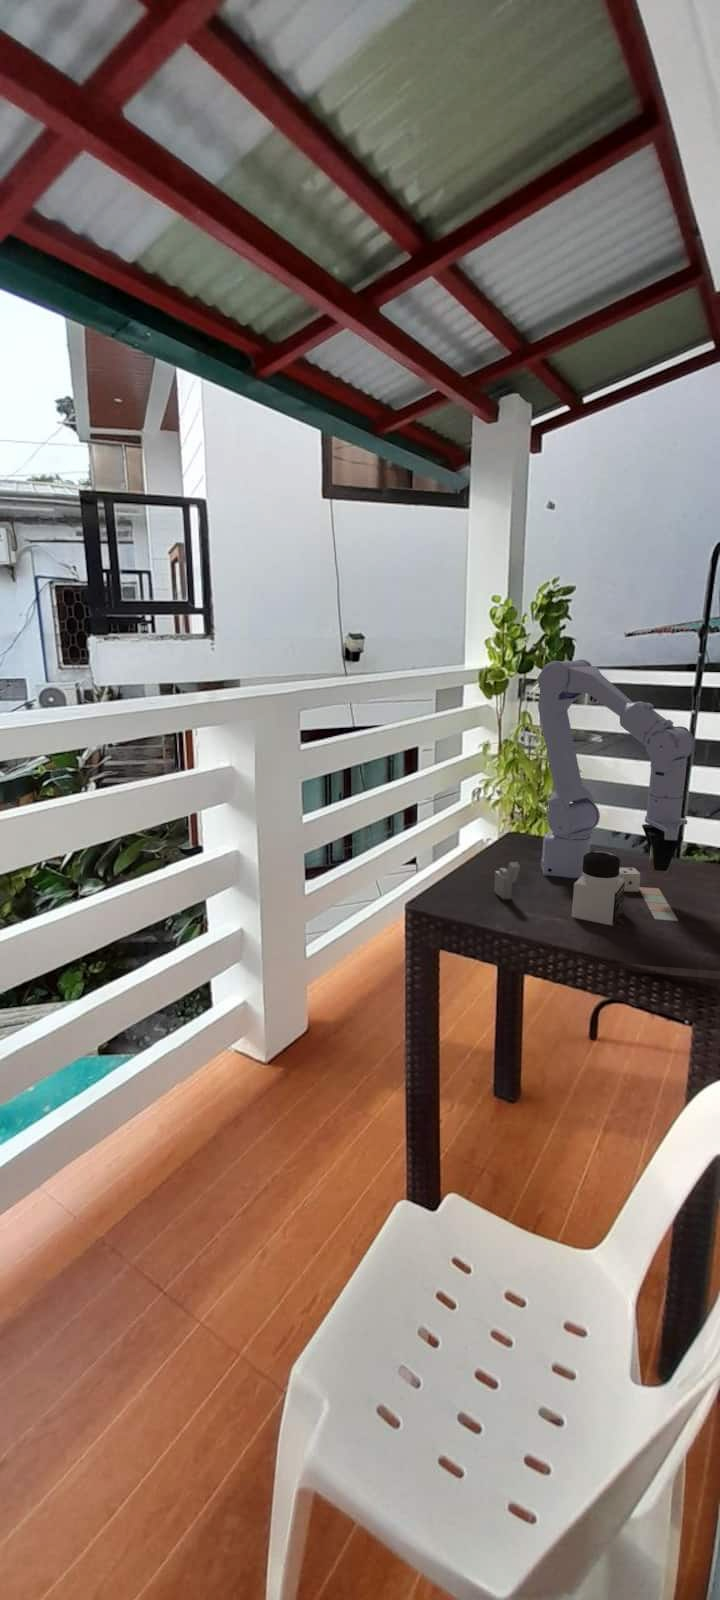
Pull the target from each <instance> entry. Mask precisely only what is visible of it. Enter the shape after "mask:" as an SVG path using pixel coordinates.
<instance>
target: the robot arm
mask: <svg viewBox="0 0 720 1600" xmlns="http://www.w3.org/2000/svg"><path fill="white" fill-rule="evenodd" d="M537 683H538V688H539V695H538V704H537V708H538V713H539V719H540V724H541V729H542V734H543V739H544V744H545V748H546V749H545V750H546V753H547V758H548V764H549V769H550V775H551V778H552V783H553V789H554V790H553V791H554V792H553V793H552V794H551V796H550V798H549V799H548V801H547V806H548V813H547V824H548V827H549V829H550V830H551V832H549V833H547V832H545V833H544V834H543V840H542V856H541V859H540V868H541V869H542V876H551V877H552V876H553V877H563V878H568V879H569V878H571V879H579V878H580V877H581V876H582V870H583V857H584V855H585V854H587V853H590V851H591V850H590V849H591V838H592V834H593V829H594V828H596V827H597V826H598V824H599V823H600V819H601V817H600V816H601V814H600V811H599V808H598V806H597V804H596V803H595V801H594V799H593V794H592V793H591V791H590V790H588V789H587V788H586V787H585V786H583V782H582V777H581V773H580V768H579V767H580V766H579V764H578V763H579V762H578V758H577V753H576V749H575V747H576V746H575V743H574V737H573V734H572V733H573V732H572V727H571V723H570V719H569V713H568V710H569V708H570V707H571V706H572V704H573V702H574V701H575V700H577V699H578V698H579V697H580V696H581V695H583V694H588V695H589V696H591V698H593V699H595V700H596V701H597V702H599V703H600V704H602V705H604V706H605V707H606V708H608V709H609V710H610V711H611V712H613V713H614V714H615V715H617V716H618V717H619V725H620V726H621V727H622V729H624V730H625V731H626V732H628V733H629V734H630V735H632V736H633V738H635V739H636V741H637V740H638V742H640V743H641V744H642V745H643V746H645V751H646V754H647V755H648V757H649V759H650V773H649V774H650V776H649V785H648V794H647V795H648V796H647V806H646V815H645V817H644V822H645V823H646V824H645V823H643V824H642V825H641V827H642V830H643V832H644V835H645V838H646V843H647V851H648V858H649V857H650V846H651V845H652V850H653V865H654V869H655V870H656V871H667V870H668V871H669V869H668V867H670V864H671V862H672V859H673V856H674V855H675V852H676V850H677V849H678V847H679V845H681V843H682V841H683V839H684V837H683V836H682V835H681V834H679V829H680V827H681V825H688V820H687V819H686V818H684V817H682V811H683V810H682V808H683V807H682V806H683V801H684V800H683V799H684V793H685V792H684V791H685V780H686V772H687V763H688V762H687V761H688V757H689V756H691V754H692V753H693V752H694V749H695V747H696V742H695V737H694V735H693V734H692V732H691V731H689V729H688V727H685V726H681V725H680V726H675V725H674V721H672V720H671V719H667V718H664V717H663V716H662V715H660V714H659V713H658V712H657V711H655V710H654V709H653V708H654V707H655V706H654V704H652V703H650V702H644V701H635V702H633V701H632V700H631V699H630V698H629V697H627V696H626V695H625V694H624V693H623V692H622V691H621V690H620V689H618V687H617V686H615V685H614V684H613V683H612V682H611V681H610V680H609V679H607V678H606V677H605V675H603V674H602V673H601V671H600V669H599V667H596V666H594V665H592V663H591V662H589V661H587V660H585V659H577V660H566V661H564V660H563V661H560V660H559V661H558V660H552V661H549V662H548V663H546V664H545V665H544V667H543V668H542V670H541V671H540V673H539V674H538V677H537ZM549 869H550V870H549Z"/></svg>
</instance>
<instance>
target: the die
mask: <svg viewBox="0 0 720 1600" xmlns="http://www.w3.org/2000/svg"><path fill="white" fill-rule="evenodd" d="M619 878H621V879H624V880H625V885H624V892H637V893H639V892H640V890H639V887H640V884H641V873H640V872H639V871H638V870H637V869H636V868H635V867H620V868H619Z"/></svg>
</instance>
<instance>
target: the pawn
mask: <svg viewBox="0 0 720 1600" xmlns="http://www.w3.org/2000/svg"><path fill="white" fill-rule="evenodd" d="M669 867H670V866H669ZM669 867H668V870H667V871H656V870H655V869H654V865H653V850H652V845H651V846H650V857H649V856H648V869H647V870H648V871H649V872H651V873H653V874H660V875H661V874H662V875H663V874H668V873H669V870H670V869H669Z"/></svg>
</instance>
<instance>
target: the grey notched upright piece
mask: <svg viewBox="0 0 720 1600" xmlns="http://www.w3.org/2000/svg"><path fill="white" fill-rule="evenodd" d="M520 871H521V866H520V864H519V862H518V861H511V862H509V863H508V865H507V868H505V867H501V868H499V869H498V870H495V872H494V890H493V892H494V894H496V895H497V896H498V897H499V898H501V899H502V900H511V899H512V891H513V889H512V888H513V886H512V885H513V883H516V882H517V879H518V876H519V873H520Z"/></svg>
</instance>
